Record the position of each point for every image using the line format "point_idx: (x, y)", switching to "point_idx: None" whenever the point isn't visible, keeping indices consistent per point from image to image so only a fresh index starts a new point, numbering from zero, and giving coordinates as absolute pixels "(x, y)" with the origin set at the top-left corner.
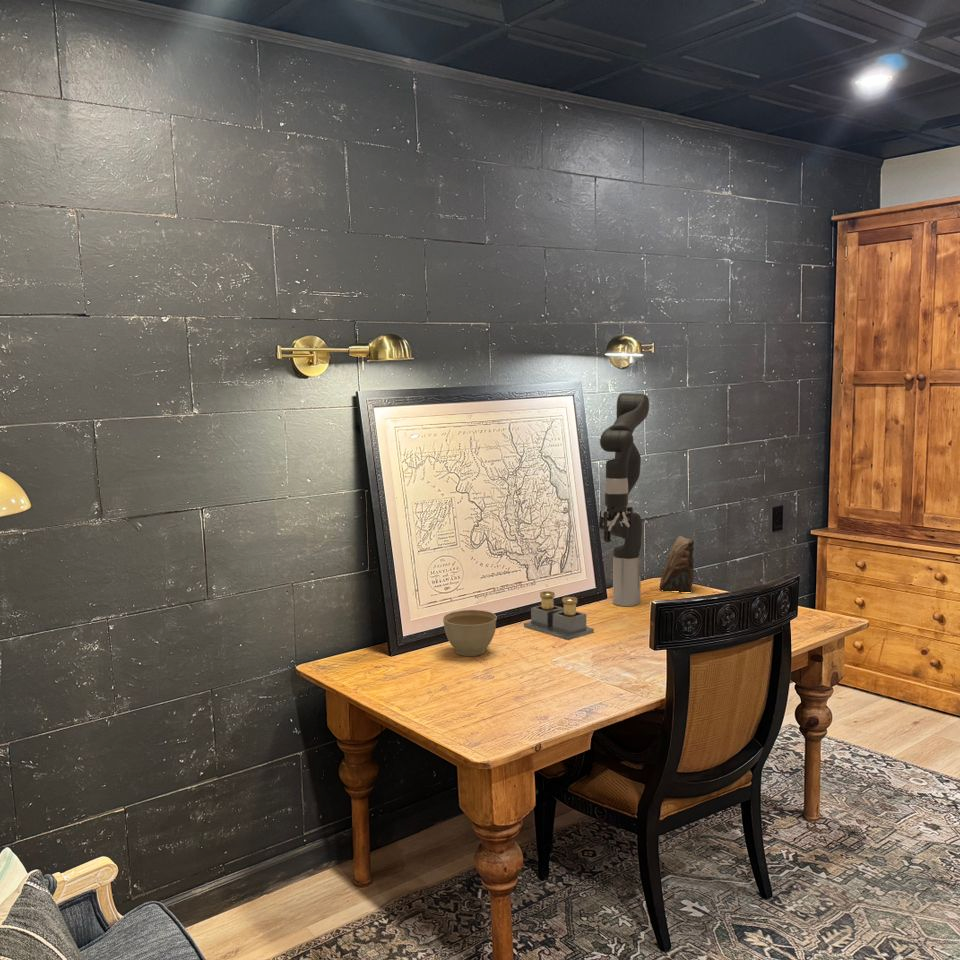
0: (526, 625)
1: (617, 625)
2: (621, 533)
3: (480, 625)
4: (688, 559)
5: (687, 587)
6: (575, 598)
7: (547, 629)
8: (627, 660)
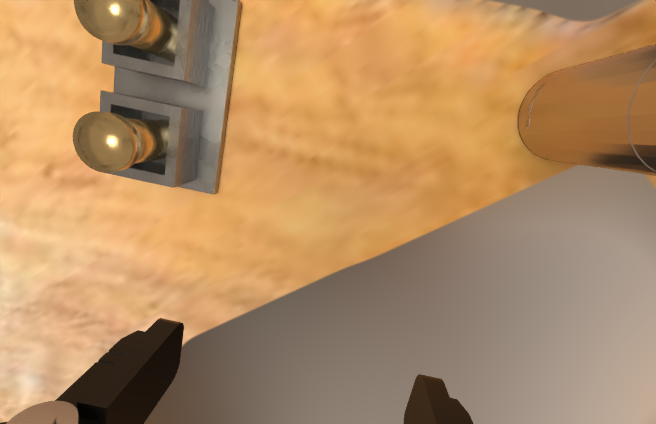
0: None
1: (314, 214)
2: (430, 406)
3: None
4: None
5: None
6: (119, 159)
7: (118, 85)
8: (95, 351)
